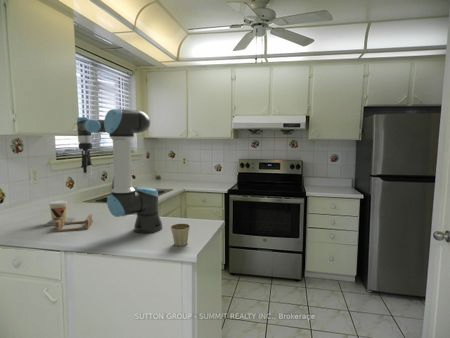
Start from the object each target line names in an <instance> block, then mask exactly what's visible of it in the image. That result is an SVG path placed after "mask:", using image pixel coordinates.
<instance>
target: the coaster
mask: <svg viewBox="0 0 450 338" xmlns="http://www.w3.org/2000/svg"><path fill="white" fill-rule="evenodd" d="M74 220H75V217H67V221H66V222H74ZM68 225H69V226H70V224H69V223H68V224H65V225H64V226H68ZM44 226H45V227H56V224H55V223H53V222H52V218H51V219H50V220H49V221H48V222H47V223H45V224H44V225H43V227H44Z"/></svg>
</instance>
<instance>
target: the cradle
mask: <svg viewBox="0 0 450 338" xmlns="http://www.w3.org/2000/svg"><path fill="white" fill-rule="evenodd" d="M93 221H94V220H93V214H88V216H87V217H85V219H84V220H78V221H72V222H65V218H64V217H61V218H60V219H59V220H57V221H56V222H55V224H56V226H55V229H54V232H55V233H62V232H71V231H72V232H74V231H85V230H87V231H88V230H89V229H90V227H91V226H92V224H93ZM68 223H69V225H78V224H84V225H85V227H71V228H64V227H65V226H66V225H65V224H68Z"/></svg>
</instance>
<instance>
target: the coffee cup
mask: <svg viewBox="0 0 450 338" xmlns="http://www.w3.org/2000/svg"><path fill="white" fill-rule="evenodd" d="M49 208H50V209H49V210H50V215H51V219H52V222H53V223H55V222H56V221H57V220H59V219H60V218H61V217H64V218H65V222H66V221H67V218H68V202H67V200H54V201H51V202H49Z"/></svg>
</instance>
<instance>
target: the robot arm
mask: <svg viewBox="0 0 450 338" xmlns="http://www.w3.org/2000/svg"><path fill="white" fill-rule="evenodd" d="M150 126H151V120H150V118H149V115H147V113H145V112H144V111H142V110H138V109H137V110H136V109H123V108H117V109H116V108H115V109H109V110H108V111H107V113H106V114H105V117H104V119H103V120H102V119H93V118H92V119H91V118H90V117H87V116H86V117H85V116H81V117H80V116H79V117H77V118H76V127H77V141H78V142H77V143H78V149H79V150H81V166H80V167H81V168H82V177H83V179H89V176H91V177H92V176H93V175H92V174H93V173H92V172H93V171H92V166H93V163H92V160H91V152H90V151H91V150H92V149H93V143H92V142H93V141H92V139H93V137H92V133H93V134H94V133H98V134H99V133H102V134H103V133H104V134H105V133H107V134H109V138H110V139H111V140H112V150H113V151H112V152H113V153H112V155H113V157H112V159H113V183H114V184H113V186H114V187H113V188H112V189H111V191H110V192H111V194H110V195H107V199H106V204H107V208H108V210H109V212H110V214H111V215H112V216H113V217H115V218H121V217H125V216H130V215H135V214H136V218H135V222H134V225H133V226H134V227H133V229H134V232H136V233H138V234H139V233H141V234H149V233H151V234H152V233H156V232H159V231H161V230H162V229H163V223H162V220H161V218H160V213H159V193H158V189H157V188H154V187H142V186H141V187H133V175H132V174H133V172H132V170H133V169H132V140H133V138H134V137H135V134H140V133H144V132H146V131H147V130H148V129H149V128H150Z"/></svg>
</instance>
